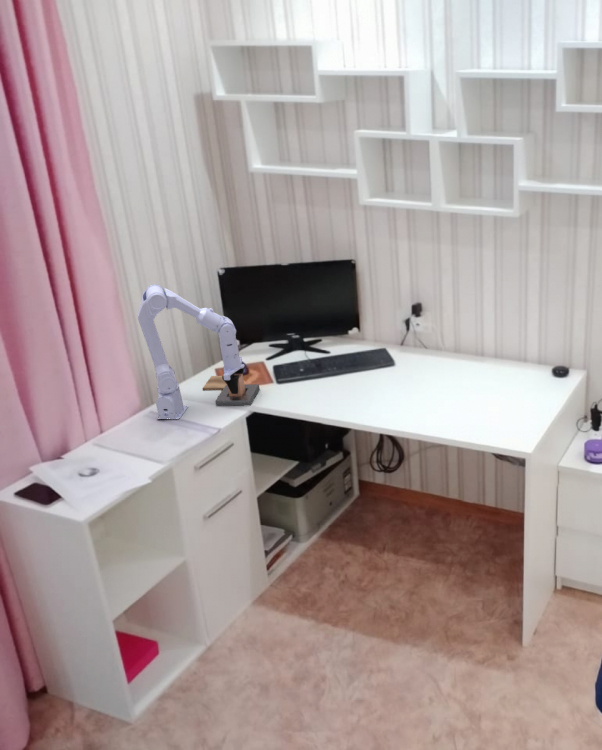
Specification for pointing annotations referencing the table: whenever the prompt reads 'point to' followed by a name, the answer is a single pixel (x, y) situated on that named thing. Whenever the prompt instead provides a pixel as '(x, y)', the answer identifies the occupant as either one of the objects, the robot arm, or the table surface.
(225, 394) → the socket plate
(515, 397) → the table surface
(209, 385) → the walnut pad
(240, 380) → the pinkish brown rectangular block
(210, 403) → the table surface
